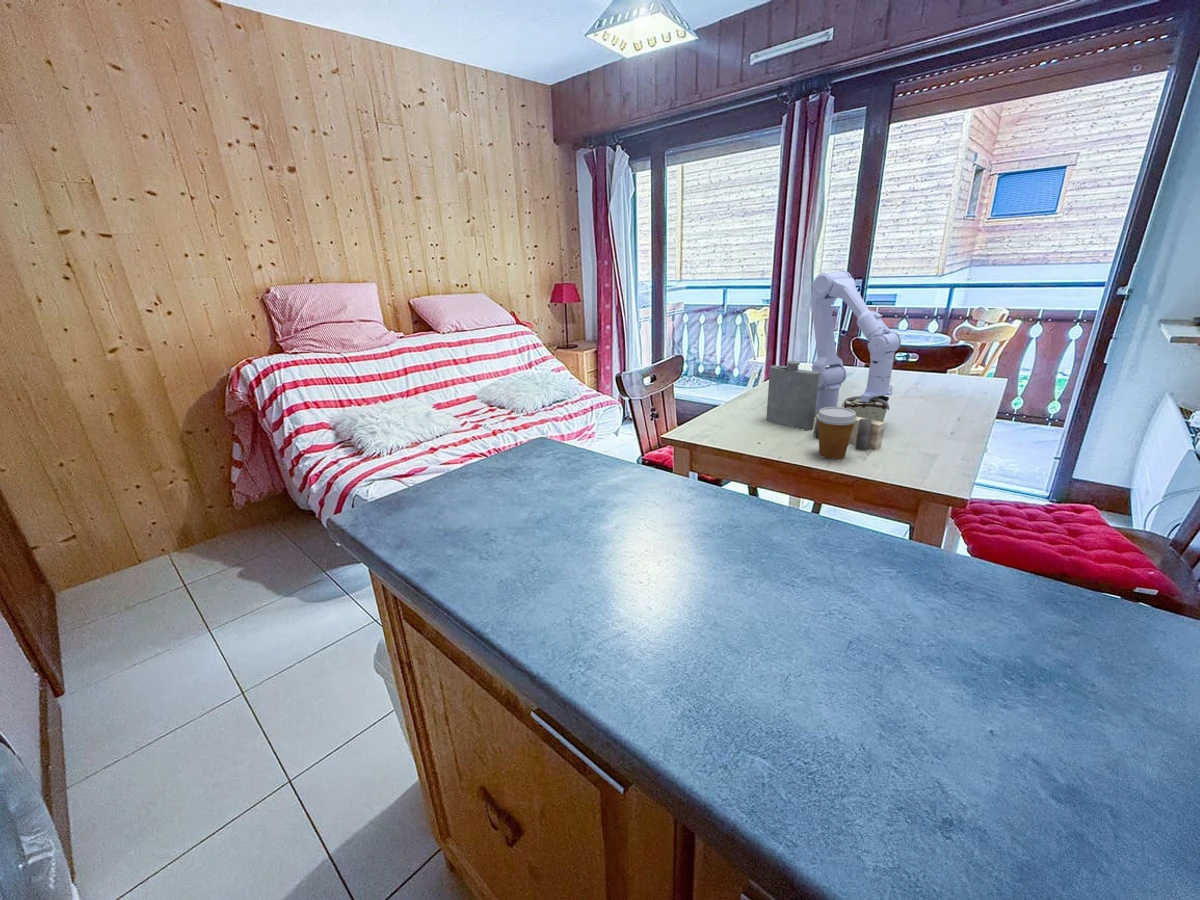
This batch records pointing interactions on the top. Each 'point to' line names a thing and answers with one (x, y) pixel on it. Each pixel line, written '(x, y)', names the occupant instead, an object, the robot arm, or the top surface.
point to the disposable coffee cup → (835, 431)
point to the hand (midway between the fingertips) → (872, 420)
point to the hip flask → (792, 396)
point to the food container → (867, 407)
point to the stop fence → (862, 433)
